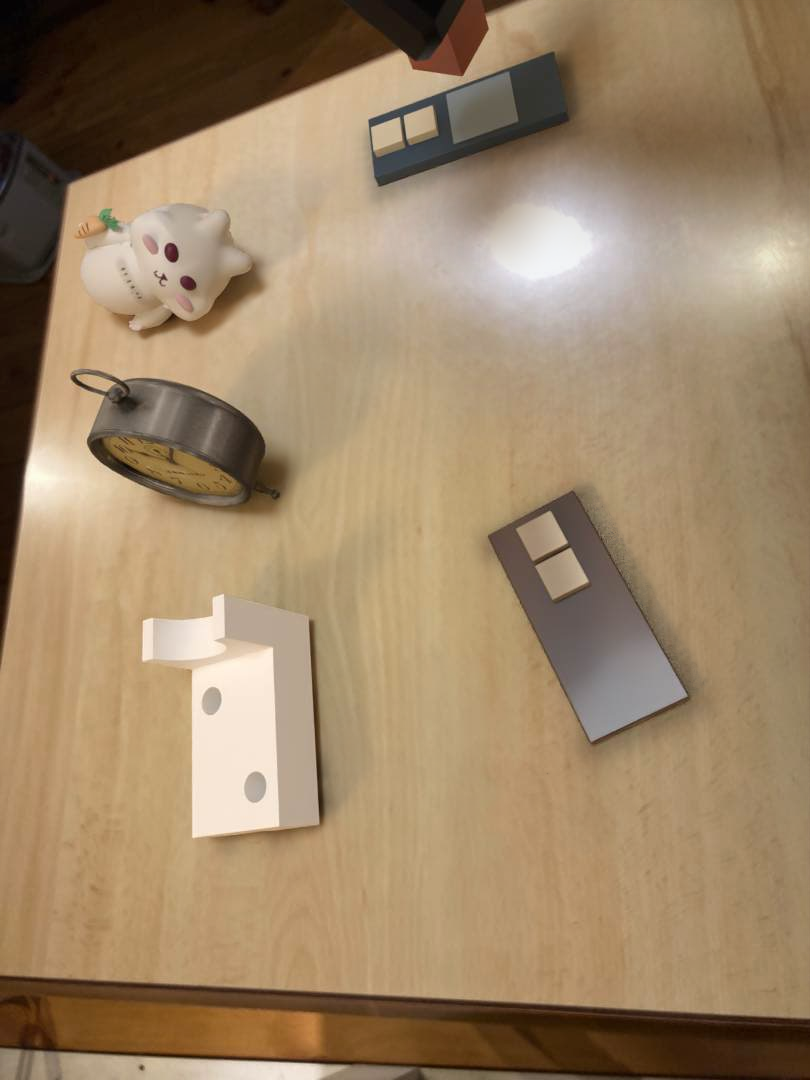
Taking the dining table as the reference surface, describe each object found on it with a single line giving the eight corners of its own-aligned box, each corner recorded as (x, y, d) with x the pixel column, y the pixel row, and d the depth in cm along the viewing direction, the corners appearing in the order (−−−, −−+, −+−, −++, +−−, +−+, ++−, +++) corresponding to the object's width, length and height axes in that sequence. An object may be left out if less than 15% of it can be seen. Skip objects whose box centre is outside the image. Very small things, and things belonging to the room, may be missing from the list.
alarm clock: (160, 504, 63) (-5, 407, 48) (181, 438, 64) (26, 325, 50) (286, 520, 59) (146, 419, 44) (305, 449, 60) (175, 329, 46)
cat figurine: (23, 244, 63) (180, 188, 56) (81, 204, 68) (229, 149, 62) (95, 355, 68) (245, 315, 62) (142, 309, 74) (285, 269, 67)
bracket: (230, 639, 58) (143, 620, 52) (308, 616, 55) (223, 593, 49) (234, 835, 54) (138, 840, 48) (319, 824, 50) (227, 828, 44)
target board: (556, 61, 63) (552, 41, 62) (569, 121, 61) (565, 101, 60) (372, 128, 68) (364, 111, 66) (378, 186, 65) (370, 170, 64)
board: (575, 495, 52) (571, 484, 51) (690, 699, 46) (689, 694, 45) (490, 540, 53) (483, 531, 52) (592, 745, 47) (588, 742, 46)
